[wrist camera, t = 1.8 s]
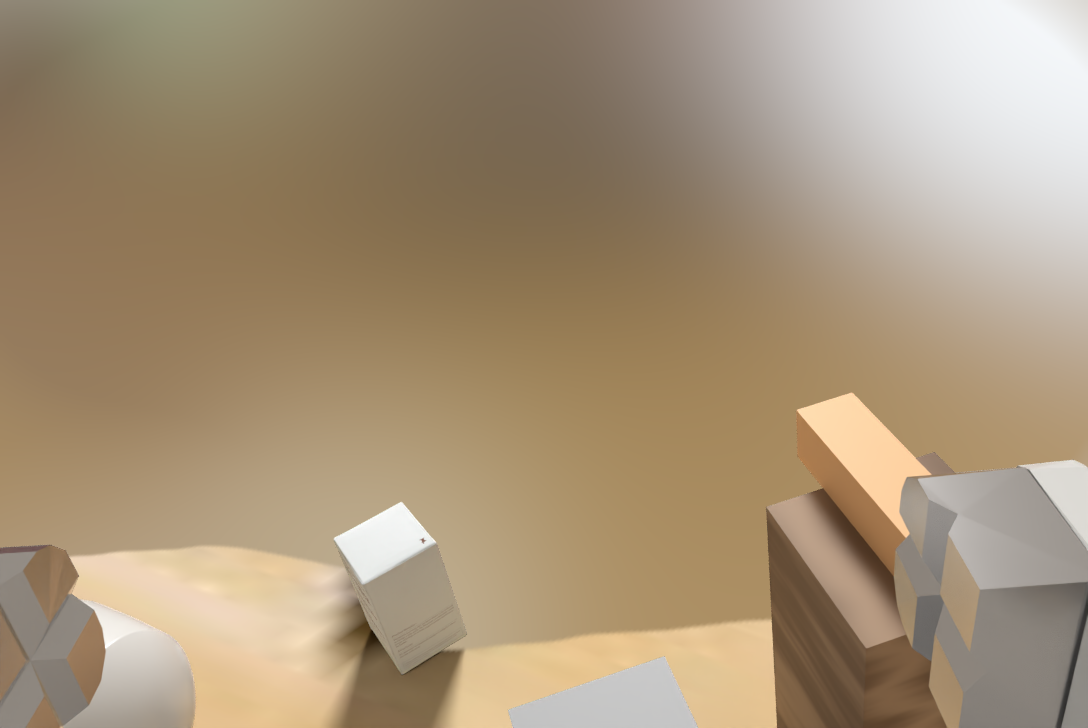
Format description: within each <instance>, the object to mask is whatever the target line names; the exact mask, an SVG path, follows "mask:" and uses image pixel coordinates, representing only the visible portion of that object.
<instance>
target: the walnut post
mask: <svg viewBox="0 0 1088 728" xmlns="http://www.w3.org/2000/svg"><path fill="white" fill-rule="evenodd" d="M916 459H917V460H918V461H919V462H920V463H921V464H922V465H923V466H924V467H925V468H926V469H927V470H928V471H929V472H930V474H931V475H935V474H947V473H955V472H954V471H953V470H952V469H951V468H950V467H949V466H948V465H947V464H946V463H945V462H944V461H943V460H942V459H941V458H940V457H939V456H938V455H937V454H936V453H935V452H933V453H930V454H927V455H924V456H921V457H918V458H916ZM766 512H767V531H768V552H769V572H770V591H771V612H772V633H773V653H774V673H775V693H776V713H777V728H947V726H946V724H945V722H944V719H943V717H942V715H941V713H940V710H939V708H938V706H937V704H936V702H935V699H934V697H933V695H932V693H931V690H930V688H929V680H930V671H931V661H930V660H928V659H927V658H925V657H924V656H923V655H921V654H920V653H918V652H917V651H915V650H914V649H912V647H911V644H910V642H909V640H908V637H907V635H906V632H905V630H904V628H903V624H902V621H901V617H900V614H899V610H898V607H897V600H896V591H895V582H894V576H893V575H892V574H891V572H890V571H889V570H888V569H887V567H886V566H885V565H884V564H883V562H882V561H881V560H880V559H879V557H878V556H877V555H876V554H875V552H874V551H873V550H872V549H871V547H870V546H869V545H868V544H867V542H866V541H865V540H864V539H863V537H862V536H861V535H860V534H859V532H858V531H857V530H856V529H855V527H854V526H853V525H852V524H851V522H850V521H849V520H848V519H847V517H846V516H845V515H844V514H843V512H842V511H841V510H840V509H839V507H838V506H837V505H836V504H835V502H834V501H833V500H832V499H831V497H830V496H829V495H828V494H827V492H826V491H825V490H824V489H820V490H817V491H814V492H811V493H807V494H804V495H801V496H798V497H795V498H792V499H789V500H786V501H783V502H780V503H777V504H774V505H771V506H768V507H766Z"/></svg>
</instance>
